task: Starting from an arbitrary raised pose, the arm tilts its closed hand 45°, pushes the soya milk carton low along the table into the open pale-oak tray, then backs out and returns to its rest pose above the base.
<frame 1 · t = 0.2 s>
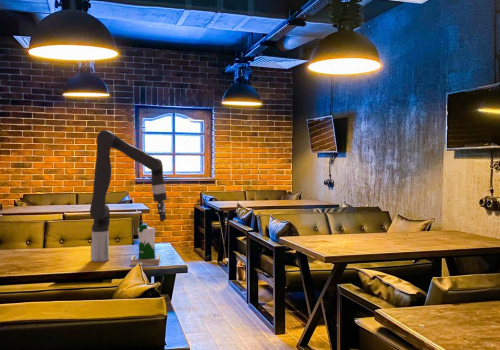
hand: (163, 220, 284), 23 cm above the table, tool pointing down, fingers open, 8 cm apart
soya milk: (146, 258, 291), on the table
stop tray: (145, 262, 279), on the table
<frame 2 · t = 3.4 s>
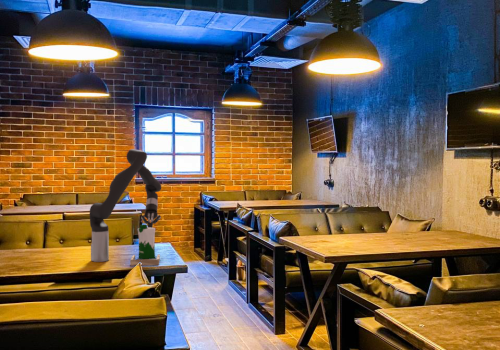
hand: (150, 228, 308), 15 cm above the table, tool tilted 45°, fingers closed
nothing on the table moved.
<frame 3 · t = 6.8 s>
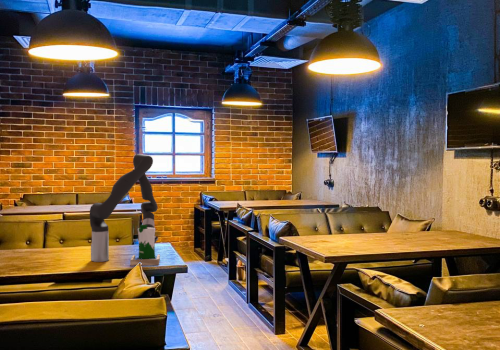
hand: (147, 250, 296), 4 cm above the table, tool tilted 45°, fingers closed
soya milk: (146, 258, 291), on the table, touching gripper
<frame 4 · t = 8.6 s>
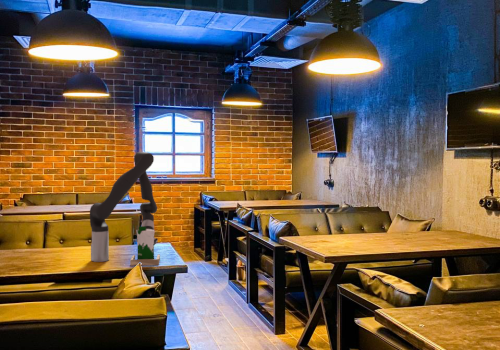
hand: (146, 252, 289), 4 cm above the table, tool tilted 45°, fingers closed
soya milk: (145, 261, 284), on the table, touching gripper
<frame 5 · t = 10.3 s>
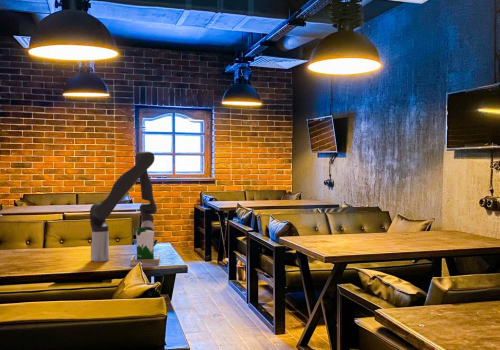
hand: (146, 254, 284), 4 cm above the table, tool tilted 45°, fingers closed
soya milk: (145, 262, 279), resting in stop tray, touching gripper
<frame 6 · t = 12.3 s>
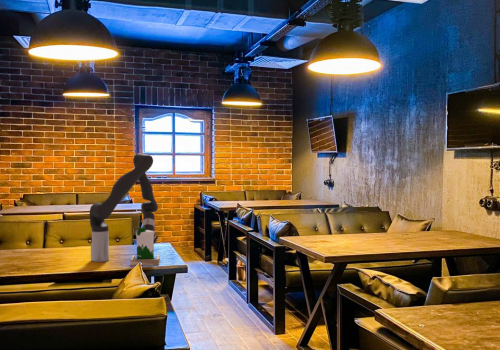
hand: (147, 250, 295), 4 cm above the table, tool tilted 45°, fingers closed
soya milk: (145, 262, 279), resting in stop tray
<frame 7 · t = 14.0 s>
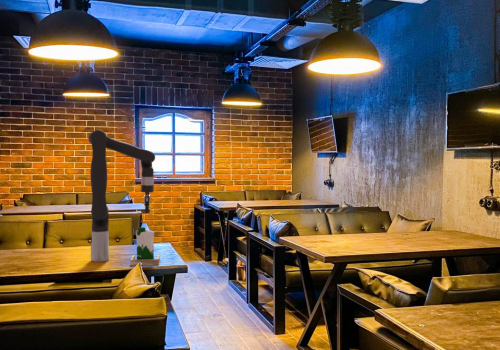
hand: (146, 213, 297), 26 cm above the table, tool pointing down, fingers closed
nothing on the table moved.
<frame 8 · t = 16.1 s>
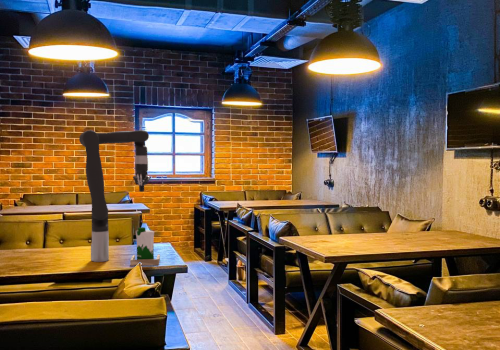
hand: (141, 191, 299), 39 cm above the table, tool pointing down, fingers closed
nothing on the table moved.
at the end: soya milk 0.4 cm from the stop tray (horizontally); soya milk tilted 0° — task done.
